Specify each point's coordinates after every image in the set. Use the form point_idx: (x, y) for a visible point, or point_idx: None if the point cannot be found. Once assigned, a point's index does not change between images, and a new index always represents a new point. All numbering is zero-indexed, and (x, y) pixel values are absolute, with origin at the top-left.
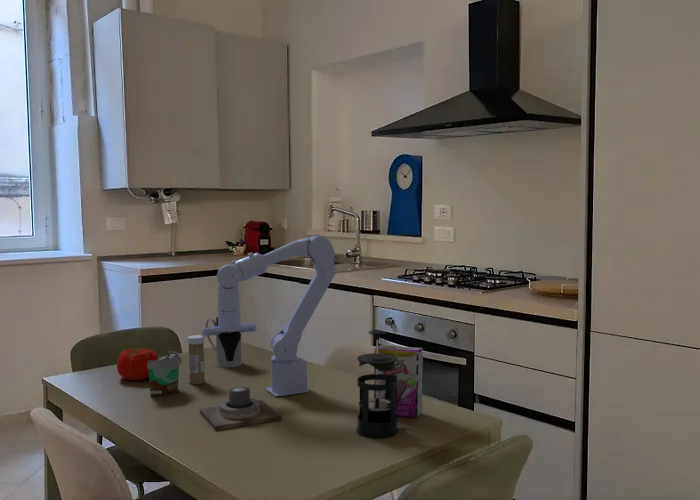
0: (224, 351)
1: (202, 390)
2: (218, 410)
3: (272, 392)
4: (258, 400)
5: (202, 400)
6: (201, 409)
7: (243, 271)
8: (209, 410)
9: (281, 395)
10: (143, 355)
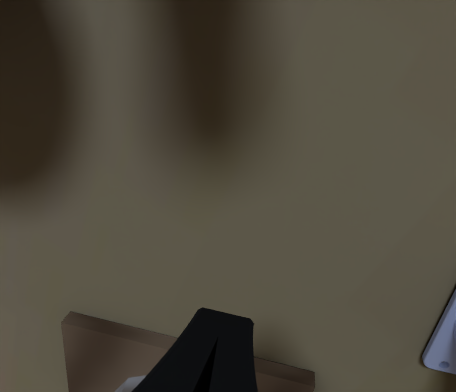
0: (150, 375)
1: (159, 3)
2: (117, 373)
3: (444, 327)
4: (297, 385)
5: (112, 187)
6: (65, 331)
7: None
8: (89, 356)
9: (451, 370)
10: None
